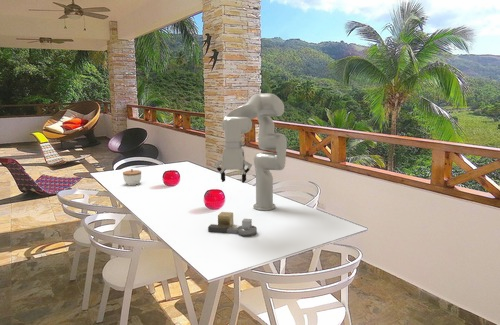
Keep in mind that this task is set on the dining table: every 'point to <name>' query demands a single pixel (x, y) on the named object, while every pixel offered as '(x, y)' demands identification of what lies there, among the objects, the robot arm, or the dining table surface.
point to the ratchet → (236, 229)
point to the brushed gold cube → (225, 218)
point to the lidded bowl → (132, 177)
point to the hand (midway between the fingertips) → (233, 181)
